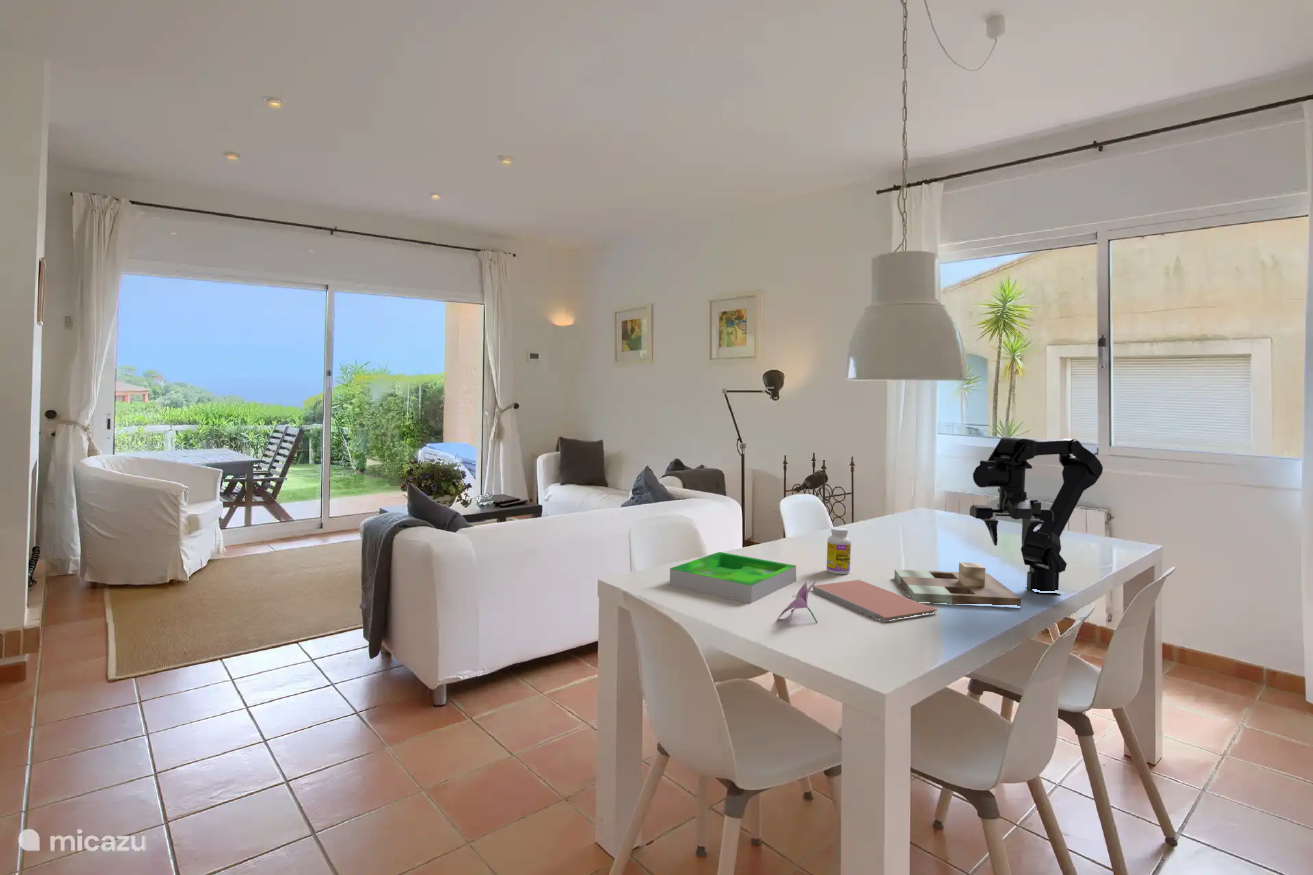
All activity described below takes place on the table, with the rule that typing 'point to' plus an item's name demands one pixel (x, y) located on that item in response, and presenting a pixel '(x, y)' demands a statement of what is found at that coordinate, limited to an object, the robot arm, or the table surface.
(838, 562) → the supplement bottle
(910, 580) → the trap deck
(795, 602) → the lily
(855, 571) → the table surface
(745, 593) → the tray
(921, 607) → the notebook
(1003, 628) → the table surface
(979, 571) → the block
